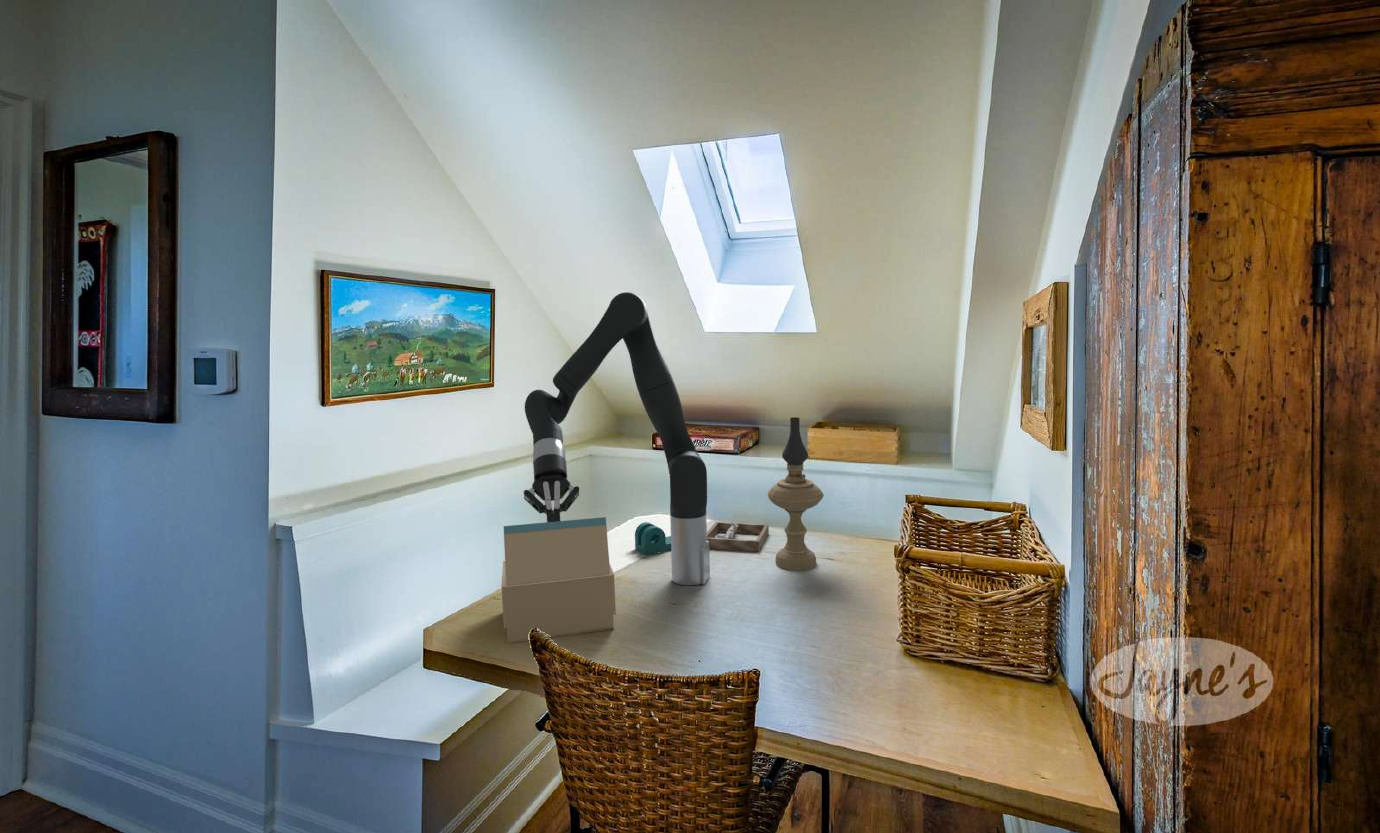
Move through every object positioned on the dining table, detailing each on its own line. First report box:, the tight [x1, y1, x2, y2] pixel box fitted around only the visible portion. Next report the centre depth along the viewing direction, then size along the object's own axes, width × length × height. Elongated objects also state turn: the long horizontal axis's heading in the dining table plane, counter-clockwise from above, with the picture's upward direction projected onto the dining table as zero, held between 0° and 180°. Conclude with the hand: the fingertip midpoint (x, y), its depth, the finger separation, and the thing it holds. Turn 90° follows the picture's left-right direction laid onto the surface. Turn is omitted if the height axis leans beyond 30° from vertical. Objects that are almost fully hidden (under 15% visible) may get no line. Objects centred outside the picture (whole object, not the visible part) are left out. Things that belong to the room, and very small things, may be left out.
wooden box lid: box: [503, 516, 611, 586], centre depth 140 cm, size 12×21×1 cm
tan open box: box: [501, 560, 617, 644], centre depth 149 cm, size 19×23×12 cm
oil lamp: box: [766, 416, 825, 571], centre depth 180 cm, size 15×15×40 cm
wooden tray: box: [707, 521, 770, 553], centre depth 204 cm, size 17×18×3 cm
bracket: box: [634, 521, 671, 556], centre depth 199 cm, size 18×7×8 cm, turn 119°
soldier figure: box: [715, 521, 739, 539], centre depth 205 cm, size 8×5×12 cm
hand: (554, 527), depth 146 cm, fingers closed
